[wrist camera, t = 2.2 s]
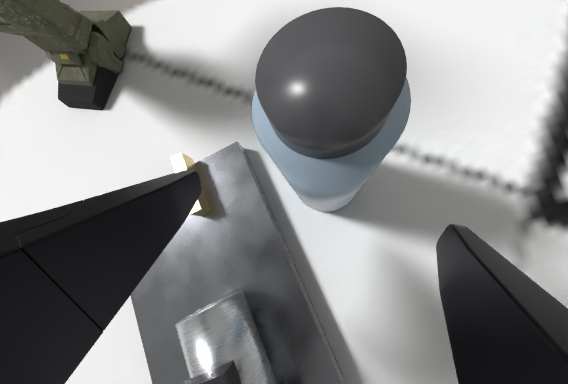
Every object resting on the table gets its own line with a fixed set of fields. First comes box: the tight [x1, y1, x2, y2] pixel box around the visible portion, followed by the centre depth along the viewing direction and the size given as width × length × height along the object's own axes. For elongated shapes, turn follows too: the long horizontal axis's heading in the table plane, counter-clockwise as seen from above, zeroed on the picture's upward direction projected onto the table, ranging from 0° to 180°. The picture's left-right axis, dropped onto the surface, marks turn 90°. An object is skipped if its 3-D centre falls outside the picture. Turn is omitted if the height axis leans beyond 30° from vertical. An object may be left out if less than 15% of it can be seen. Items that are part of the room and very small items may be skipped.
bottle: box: [252, 7, 411, 212], centre depth 12 cm, size 5×5×13 cm
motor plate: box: [101, 142, 346, 384], centre depth 15 cm, size 20×13×7 cm, turn 24°
